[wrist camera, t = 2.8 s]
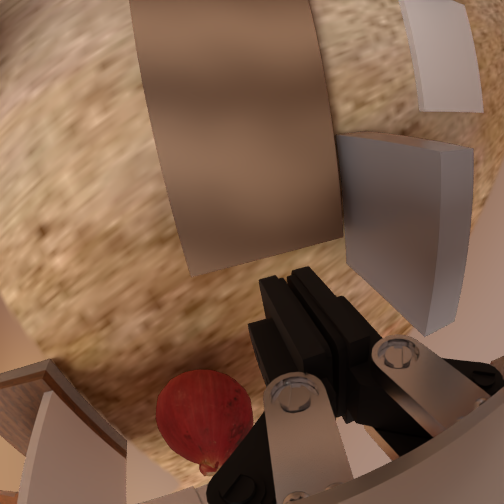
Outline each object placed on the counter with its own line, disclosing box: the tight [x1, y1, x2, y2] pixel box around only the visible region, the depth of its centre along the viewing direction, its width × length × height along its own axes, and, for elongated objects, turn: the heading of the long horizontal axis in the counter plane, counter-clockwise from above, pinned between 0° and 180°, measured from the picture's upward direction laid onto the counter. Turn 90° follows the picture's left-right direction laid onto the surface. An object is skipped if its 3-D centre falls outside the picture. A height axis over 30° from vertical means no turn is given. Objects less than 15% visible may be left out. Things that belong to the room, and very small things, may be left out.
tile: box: [336, 131, 474, 337], centre depth 14 cm, size 8×2×8 cm, turn 10°
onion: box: [156, 369, 253, 476], centre depth 16 cm, size 6×6×8 cm
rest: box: [129, 0, 343, 277], centre depth 13 cm, size 18×8×1 cm, turn 10°
